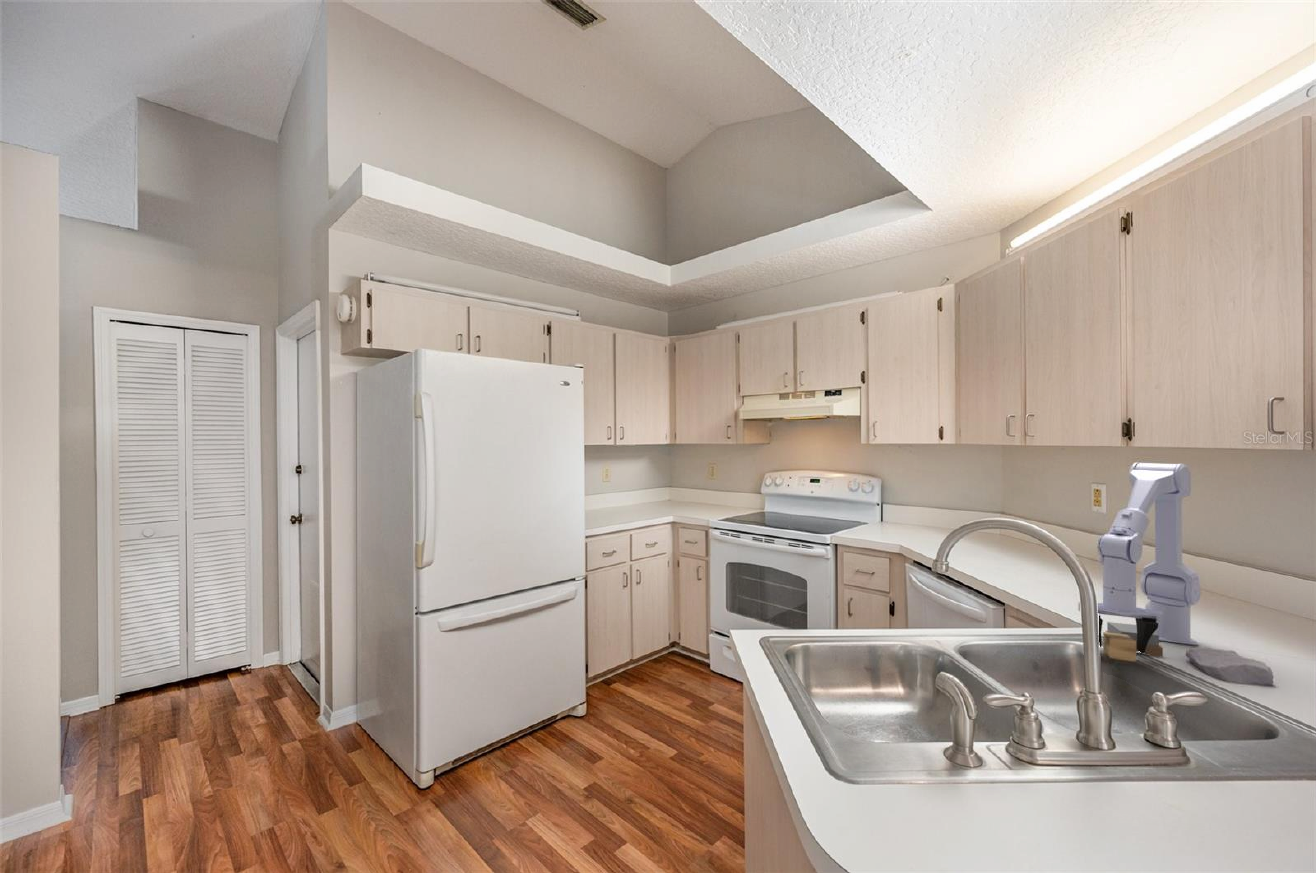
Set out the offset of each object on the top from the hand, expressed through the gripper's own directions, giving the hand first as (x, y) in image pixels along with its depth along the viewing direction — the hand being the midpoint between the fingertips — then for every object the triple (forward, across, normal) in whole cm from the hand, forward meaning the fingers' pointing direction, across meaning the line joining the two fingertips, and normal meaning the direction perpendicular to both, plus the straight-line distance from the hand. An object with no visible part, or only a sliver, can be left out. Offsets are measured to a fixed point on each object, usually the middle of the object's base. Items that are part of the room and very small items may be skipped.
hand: (1119, 648), depth 121 cm
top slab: (0, +5, +8) cm, 9 cm away
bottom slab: (+2, +5, +8) cm, 10 cm away
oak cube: (+2, 0, 0) cm, 2 cm away
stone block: (+2, +17, -1) cm, 17 cm away
